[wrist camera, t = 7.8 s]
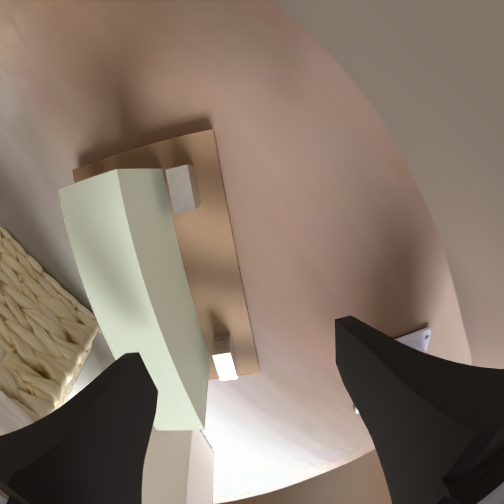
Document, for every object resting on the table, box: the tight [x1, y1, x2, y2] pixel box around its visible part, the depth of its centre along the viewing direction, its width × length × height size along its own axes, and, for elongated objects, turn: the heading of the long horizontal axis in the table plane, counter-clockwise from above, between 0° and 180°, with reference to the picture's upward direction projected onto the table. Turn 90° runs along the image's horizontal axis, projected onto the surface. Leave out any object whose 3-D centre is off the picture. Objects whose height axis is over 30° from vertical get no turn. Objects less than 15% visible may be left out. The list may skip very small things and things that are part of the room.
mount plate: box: [73, 129, 260, 380], centre depth 18 cm, size 18×10×1 cm, turn 9°
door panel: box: [58, 169, 210, 430], centre depth 14 cm, size 14×3×7 cm, turn 9°
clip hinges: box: [165, 165, 237, 381], centre depth 17 cm, size 14×7×2 cm, turn 9°
